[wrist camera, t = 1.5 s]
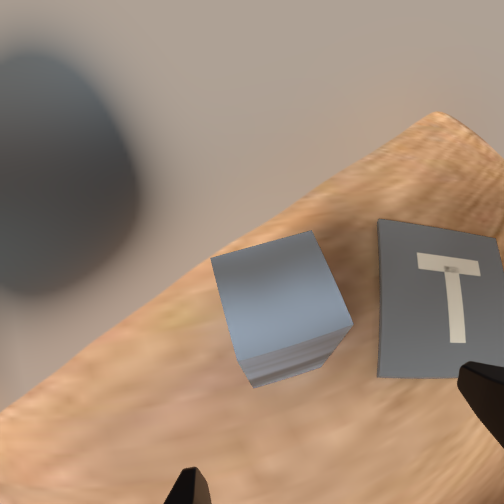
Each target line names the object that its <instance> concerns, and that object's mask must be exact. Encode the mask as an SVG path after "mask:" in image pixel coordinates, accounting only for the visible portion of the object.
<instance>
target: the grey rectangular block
mask: <svg viewBox="0 0 504 504" xmlns="http://www.w3.org/2000/svg"><path fill="white" fill-rule="evenodd" d="M210 259H211V263H212V267H213V271H214V275H215V279H216V283H217V287H218V290H219V294H220V298H221V302H222V306H223V310H224V314H225V317H226V321H227V325H228V329H229V332H230V336H231V340H232V343H233V347H234V350H235V354H236V358H237V361H238V363H239V365H240V366H241V368H242V370H243V372H244V373H245V375H246V377H247V378H248V380H249V382H250V383H251V385H252V387H253V388H257V387H260V386H264V385H267V384H270V383H274V382H277V381H280V380H284V379H287V378H290V377H293V376H296V375H299V374H302V373H305V372H308V371H311V370H314V369H317V368H320V367H321V366H322V365H323V364H324V362H325V361H326V360H327V359H328V357H329V356H330V355H331V353H332V352H333V351H334V350H335V348H336V347H337V346H338V344H339V343H340V342H341V340H342V339H343V338H344V337H345V335H346V334H347V332H348V331H349V330H350V328H351V327H352V326H353V321H352V319H351V317H350V314H349V312H348V310H347V307H346V305H345V303H344V300H343V298H342V296H341V293H340V291H339V289H338V287H337V284H336V282H335V280H334V278H333V275H332V273H331V271H330V269H329V266H328V264H327V262H326V260H325V258H324V256H323V253H322V251H321V249H320V247H319V245H318V243H317V241H316V239H315V236H314V234H313V232H312V230H311V231H307V232H303V233H300V234H296V235H293V236H289V237H285V238H282V239H278V240H274V241H271V242H267V243H263V244H260V245H256V246H252V247H249V248H245V249H242V250H238V251H234V252H231V253H227V254H223V255H220V256H216V257H213V258H210Z"/></svg>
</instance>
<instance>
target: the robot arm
mask: <svg viewBox="0 0 504 504" xmlns="http://www.w3.org/2000/svg"><path fill="white" fill-rule="evenodd" d="M457 386H458V389H459V390H460V392H461V393H462V395H463V396H464V398H465V399H466V401H467V402H468V404H469V405H470V407H471V408H472V410H473V411H474V413H475V414H476V415H477V417H478V418H479V419H480V421H481V422H482V423H483V424H484V425H485V427H486V428H487V429H488V430H489V431H490V433H491V434H492V435H493V436H494V437H495V439H496V440H497V441H498V442H499V443H500V445H501V446H502V447H503V448H504V367H501V366H495V365H490V364H484V363H479V362H474V361H468V362H466V363H465V364H463V365H462V366H461V367H460V369H459V375H458V381H457ZM164 504H212V503H211V498H210V493H209V488H208V484H207V481H206V480H205V478H204V477H203V475H202V474H201V472H200V471H199V469H198V468H197V467H190V468H185V469H183V470H182V472H181V473H180V475H179V477H178V479H177V481H176V482H175V484H174V486H173V488H172V490H171V491H170V493H169V495H168V497H167V498H166V500H165V502H164Z"/></svg>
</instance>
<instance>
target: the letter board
mask: <svg viewBox="0 0 504 504" xmlns="http://www.w3.org/2000/svg"><path fill="white" fill-rule="evenodd" d="M377 230H378V248H379V275H380V324H379V351H378V368H377V377H380V378H458V375H459V369H460V367H461V366H462V365H463V364H465V363H466V362H468V361H474V362H479V363H484V364H490V365H495V366H501V367H504V271H503V266H502V262H501V258H500V254H499V250H498V246H497V242H496V238H491V237H485V236H480V235H475V234H470V233H464V232H459V231H453V230H447V229H442V228H436V227H430V226H424V225H417V224H411V223H405V222H398V221H391V220H385V219H378V221H377Z"/></svg>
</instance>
